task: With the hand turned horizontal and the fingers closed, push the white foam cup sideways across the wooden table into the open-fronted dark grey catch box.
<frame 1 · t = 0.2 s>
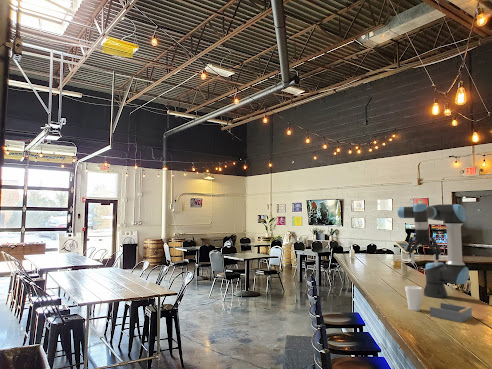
hand: (424, 264, 216), 27 cm above the table, tool pointing down, fingers open, 13 cm apart
foam cup: (414, 309, 218), on the table
catch box: (450, 316, 203), on the table
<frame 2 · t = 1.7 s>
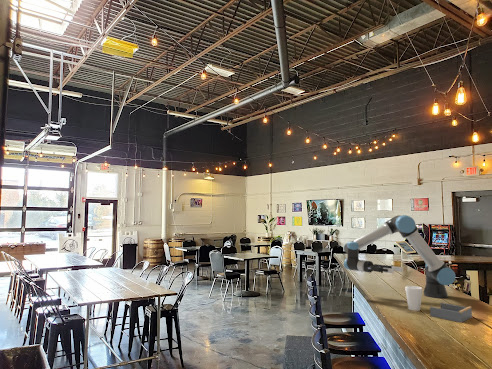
hand: (397, 270, 227), 22 cm above the table, tool horizontal, fingers open, 10 cm apart
nothing on the table moved.
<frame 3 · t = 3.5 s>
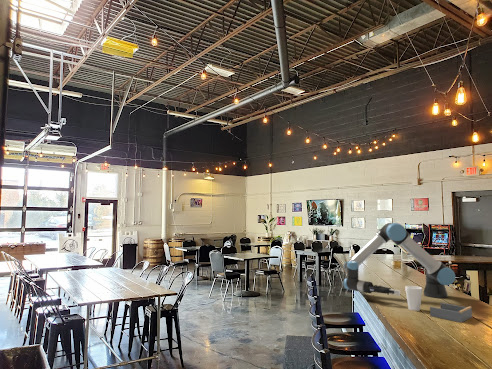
hand: (399, 293, 225), 8 cm above the table, tool horizontal, fingers closed
nothing on the table moved.
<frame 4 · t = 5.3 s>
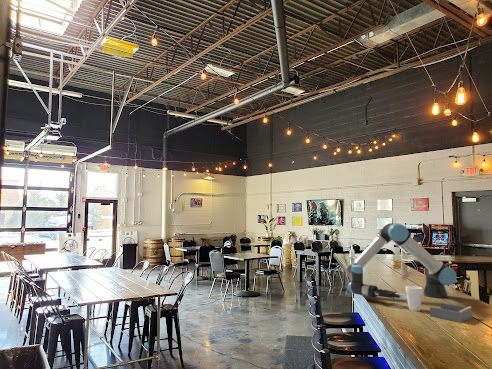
hand: (405, 297, 221), 6 cm above the table, tool horizontal, fingers closed
foam cup: (414, 309, 218), on the table, touching gripper
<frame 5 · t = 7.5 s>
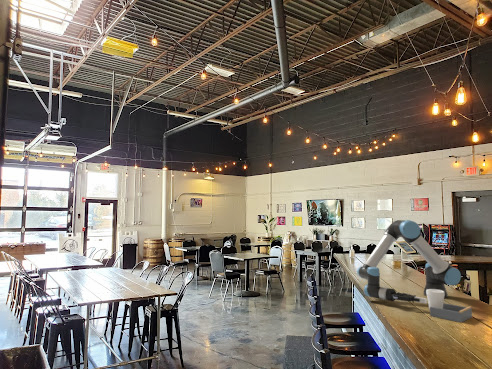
hand: (425, 301, 212), 6 cm above the table, tool horizontal, fingers closed
foam cup: (435, 314, 209), on the table, touching gripper
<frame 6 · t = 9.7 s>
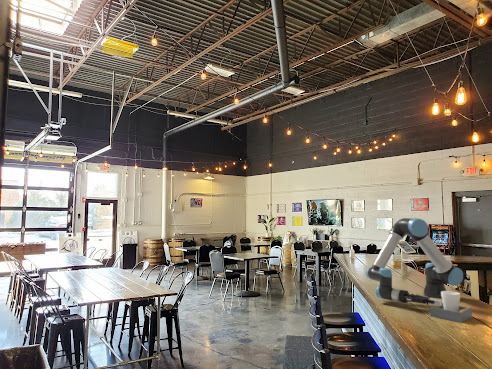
hand: (440, 303, 207), 7 cm above the table, tool horizontal, fingers closed
foam cup: (451, 316, 203), on the table, touching gripper
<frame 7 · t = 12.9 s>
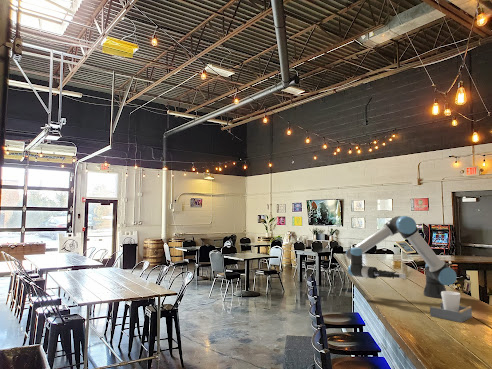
hand: (405, 276, 223), 19 cm above the table, tool horizontal, fingers closed
foam cup: (451, 316, 203), on the table
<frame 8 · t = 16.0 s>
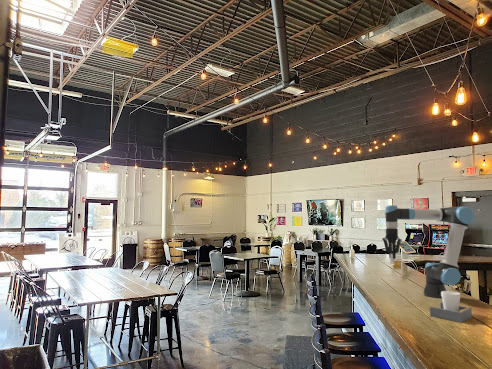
hand: (392, 263, 242), 24 cm above the table, tool pointing down, fingers closed
nothing on the table moved.
at the end: foam cup inside the target area (1.1 cm from its centre), on the table; foam cup moved 20.4 cm from its start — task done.
